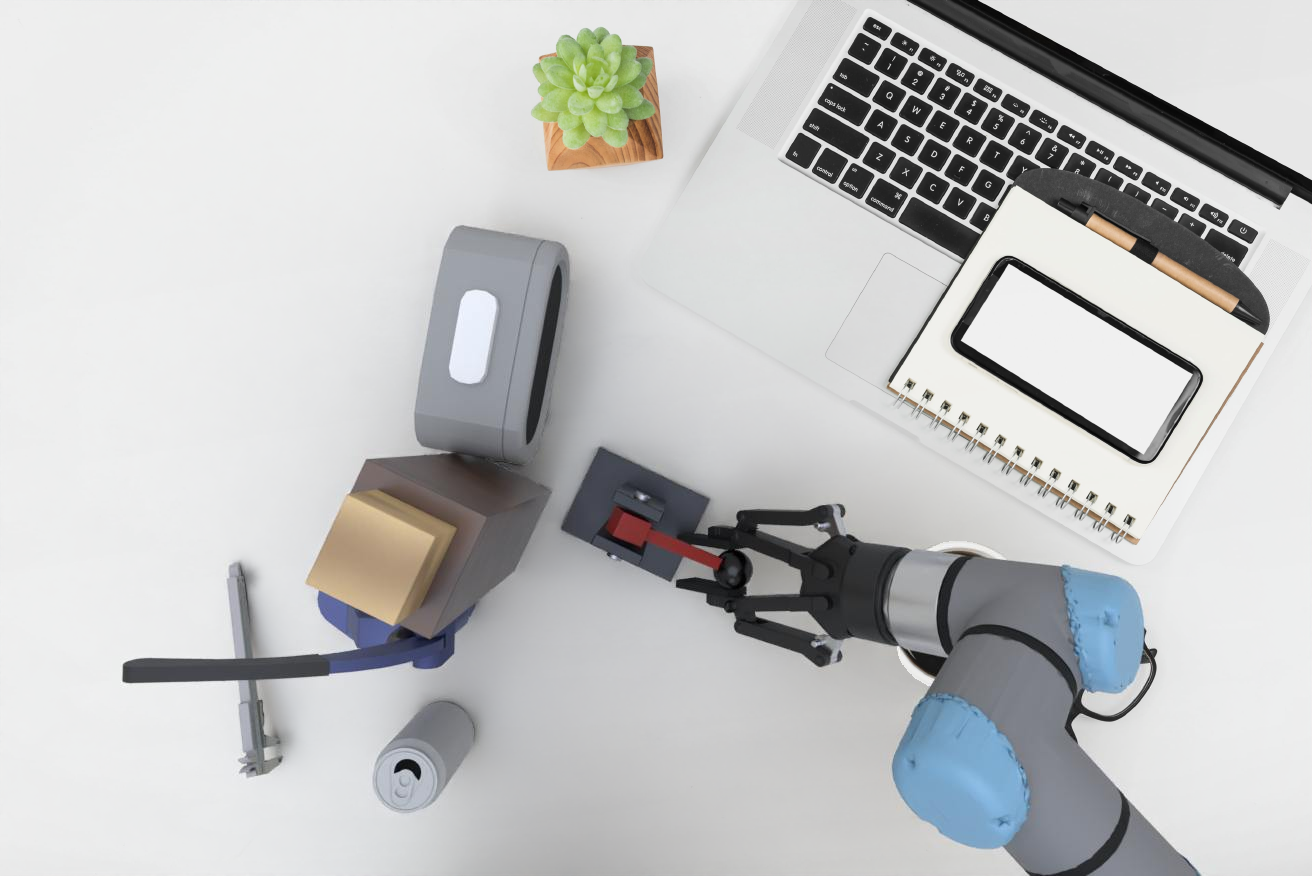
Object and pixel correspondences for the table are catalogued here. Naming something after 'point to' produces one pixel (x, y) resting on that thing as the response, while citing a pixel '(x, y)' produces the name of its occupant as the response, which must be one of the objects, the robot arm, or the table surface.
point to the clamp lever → (682, 548)
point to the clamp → (369, 633)
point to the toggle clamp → (639, 494)
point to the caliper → (248, 685)
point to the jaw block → (381, 555)
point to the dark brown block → (461, 524)
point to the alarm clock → (492, 344)
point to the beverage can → (423, 757)
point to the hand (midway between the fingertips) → (686, 559)
